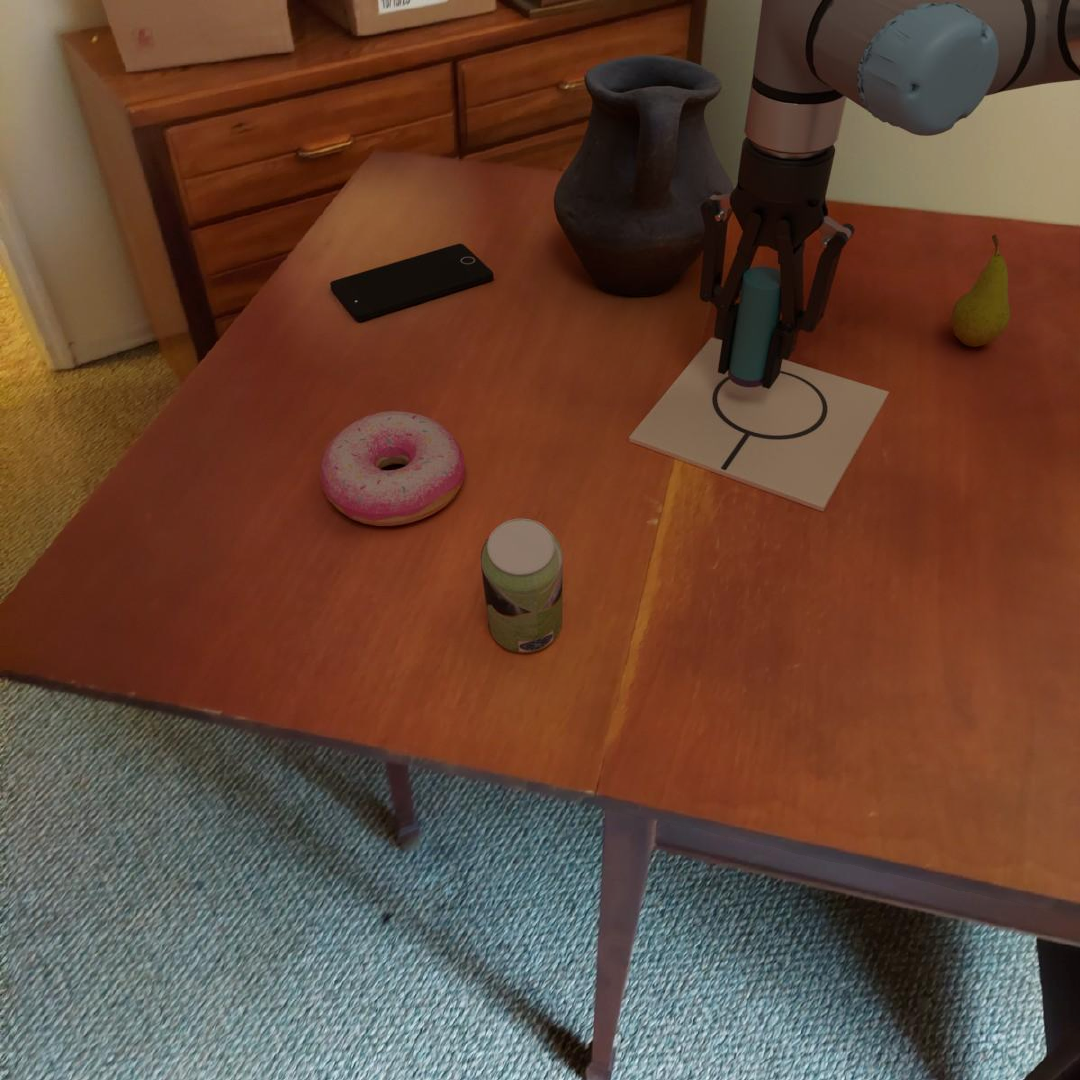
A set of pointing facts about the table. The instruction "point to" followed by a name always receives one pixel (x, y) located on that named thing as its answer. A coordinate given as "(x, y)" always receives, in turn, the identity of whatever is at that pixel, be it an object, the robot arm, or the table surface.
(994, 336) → the fruit
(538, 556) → the beverage can
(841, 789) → the table surface
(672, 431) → the drawing sheet
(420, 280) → the cell phone
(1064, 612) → the table surface
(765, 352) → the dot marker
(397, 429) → the donut
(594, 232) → the pitcher
